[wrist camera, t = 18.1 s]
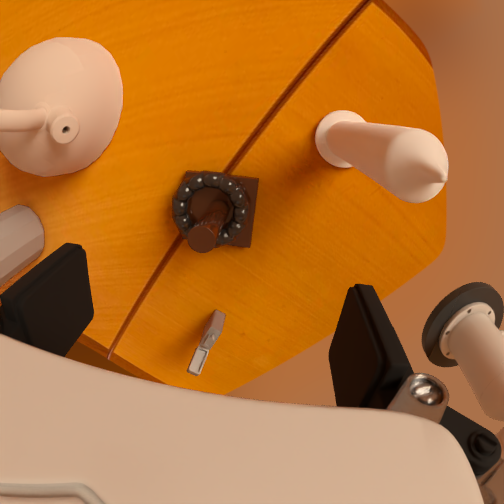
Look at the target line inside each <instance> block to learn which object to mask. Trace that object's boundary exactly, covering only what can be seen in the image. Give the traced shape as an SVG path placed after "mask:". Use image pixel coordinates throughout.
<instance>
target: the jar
mask: <svg viewBox="0 0 504 504" xmlns="http://www.w3.org/2000/svg"><path fill="white" fill-rule="evenodd" d="M43 248H44V229H43V226H42V224H41V221H40V218H39V217H38V216H37V215H36V214H35V213H34V212H33V211H32V210H31V209H30V208H29V207H26V206H22V205H19V204H18V205H16V206H14V207H12V208H10V209H8V210H6V211H4V212H2V213H0V287H1V286H2V285H3V284H4V283H6V282H7V281H8V280H9V279H10V278H12V277H13V276H14V275H15V274H17V273H18V272H19V271H21V270H22V269H23V268H24V267H26V266H27V265H28V264H30V263H31V262H32V261H34V260H35V259H36V258H38V257H39V256H40V254H41V252H42V250H43Z"/></svg>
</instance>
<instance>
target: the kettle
mask: <svg viewBox="0 0 504 504" xmlns="http://www.w3.org/2000/svg"><path fill="white" fill-rule="evenodd" d="M122 104H123V85H122V81H121V76H120V72H119V68H118V66H117V64H116V62H115V61H114V59H113V57H112V55H111V54H110V53H109V52H108V51H107V50H106V49H105V48H104V47H103V46H102V45H100V44H99V43H96V42H94V41H91V40H89V39H79V38H70V37H60V38H53V39H50V40H47V41H45V42H42V43H39V44H37V45H35V46H32V47H31V48H29V49H28V50H26V51H25V52H24V53H22V54H21V55H20V56H19V57H18V58H17V59H16V60H15V61H14V62H13V63H12V65H11V66H10V67H9V68H8V69H7V71H6V72H5V73H4V75H3V76H2V78H1V80H0V150H1V152H2V153H3V154H4V156H5V157H6V158H7V159H8V160H9V162H10V163H11V164H13V165H14V166H15V167H17V168H18V169H20V170H21V171H24V172H28V173H31V174H35V175H38V176H42V177H47V176H57V175H62V174H67V173H74V172H76V171H78V170H81V169H83V168H86V167H87V166H88V165H90V164H91V163H92V162H93V161H95V160H96V159H97V158H98V157H99V156H100V155H101V154H102V152H103V151H104V150H105V148H106V147H107V146H108V144H109V143H110V141H111V139H112V137H113V135H114V132H115V130H116V128H117V126H118V123H119V118H120V114H121V110H122Z"/></svg>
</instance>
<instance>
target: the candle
mask: <svg viewBox="0 0 504 504" xmlns="http://www.w3.org/2000/svg"><path fill="white" fill-rule="evenodd" d="M315 143H316V147H317V149H318V151H319V153H320V155H321V156H322V157H323V158H324V159H325V160H326V161H327V162H328V163H330V164H332V165H334V166H337V167H341V168H349V167H353V166H354V167H355V168H357V169H358V170H359V171H361V172H362V173H364V174H365V175H367V176H368V177H370V178H371V179H373V180H374V181H376V182H377V183H378V184H380V185H381V186H383V187H384V188H385V189H387V190H388V191H390V192H391V193H392V194H394V195H395V196H397V197H398V198H399V199H401V200H403V201H406V202H410V203H421V202H425V201H428V200H430V199H431V198H433V197H434V196H436V195H437V194H438V193H439V192H440V190H441V189H442V187H443V186H444V184H445V182H446V181H447V175H448V158H447V154H446V151H445V149H444V147H443V145H442V143H441V142H440V141H439V140H438V139H437V138H436V137H435V136H434V135H433V134H431V133H429V132H428V131H425V130H422V129H417V128H410V127H402V126H394V125H385V124H376V123H366V121H365V120H364V119H363V118H362V117H361V116H359V115H358V114H356V113H353V112H351V111H345V110H341V111H335V112H332V113H330V114H328V115H326V116H325V117H324V118H323V119H322V120H321V121H320V123H319V124H318V126H317V129H316V133H315Z"/></svg>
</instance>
